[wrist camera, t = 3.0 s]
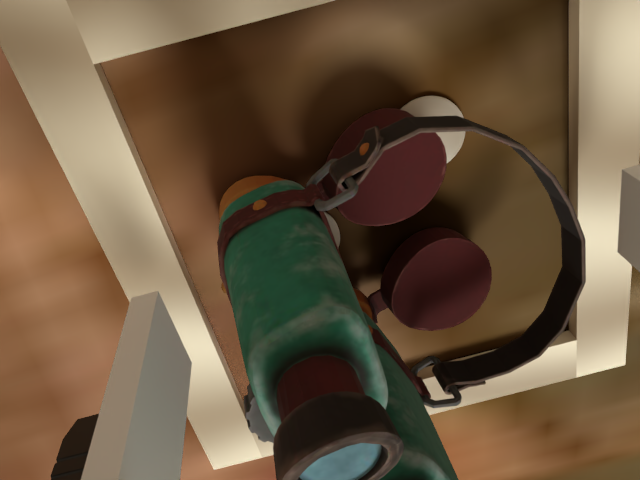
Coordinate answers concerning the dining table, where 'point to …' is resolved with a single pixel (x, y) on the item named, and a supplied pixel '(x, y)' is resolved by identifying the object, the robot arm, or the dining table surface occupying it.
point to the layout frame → (173, 277)
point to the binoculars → (367, 303)
